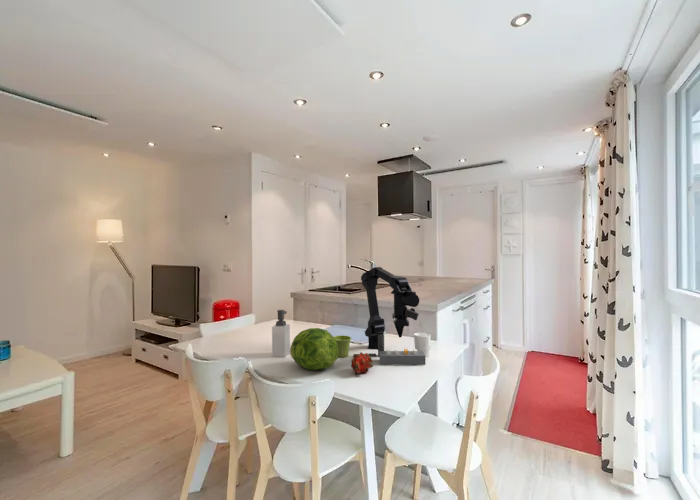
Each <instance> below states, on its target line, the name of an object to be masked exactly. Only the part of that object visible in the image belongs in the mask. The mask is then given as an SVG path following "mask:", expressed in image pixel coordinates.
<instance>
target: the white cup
mask: <svg viewBox="0 0 700 500" xmlns="http://www.w3.org/2000/svg"><path fill="white" fill-rule="evenodd" d="M413 339H414V340H413V341H414V344H413V345H414V349H417V351H423V352H424V354H425V358H428V357H430V355H431V352H430V350H431V333H428V332H415V333H413Z"/></svg>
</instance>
